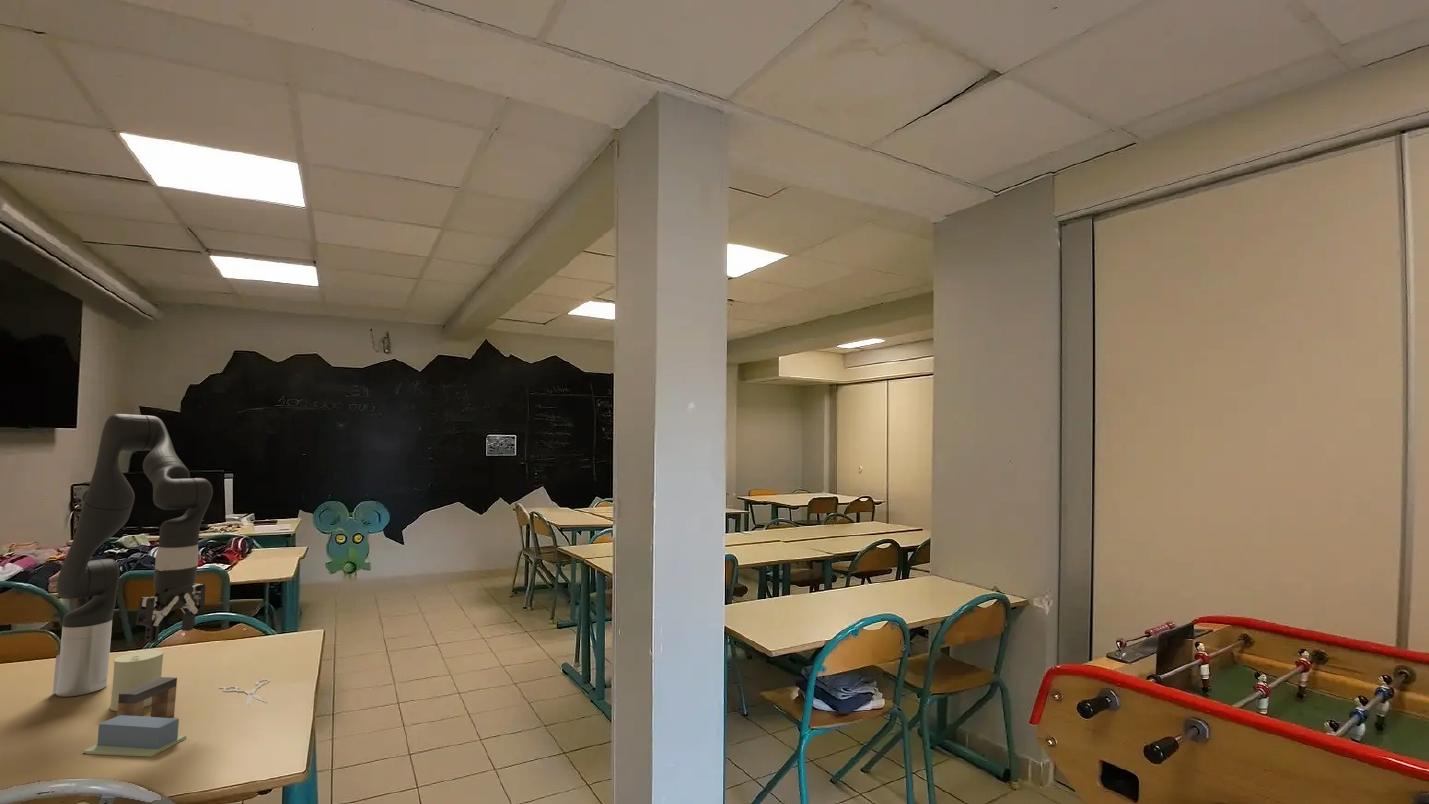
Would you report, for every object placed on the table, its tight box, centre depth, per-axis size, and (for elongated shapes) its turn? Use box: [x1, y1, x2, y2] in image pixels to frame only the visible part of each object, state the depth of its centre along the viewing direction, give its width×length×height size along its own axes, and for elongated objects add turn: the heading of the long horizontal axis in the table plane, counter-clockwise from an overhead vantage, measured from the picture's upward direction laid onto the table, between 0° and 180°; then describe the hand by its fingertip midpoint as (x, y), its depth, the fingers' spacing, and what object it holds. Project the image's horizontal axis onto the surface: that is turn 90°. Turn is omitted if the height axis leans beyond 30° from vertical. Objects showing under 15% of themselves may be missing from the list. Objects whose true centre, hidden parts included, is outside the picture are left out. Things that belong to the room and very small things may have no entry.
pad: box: [82, 734, 187, 758], centre depth 132 cm, size 15×8×1 cm, turn 87°
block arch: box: [116, 676, 178, 718], centre depth 142 cm, size 4×10×8 cm, turn 177°
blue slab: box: [96, 715, 180, 749], centre depth 132 cm, size 14×4×4 cm, turn 85°
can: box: [109, 649, 165, 712], centre depth 153 cm, size 9×9×12 cm
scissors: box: [218, 678, 271, 708], centre depth 159 cm, size 11×1×20 cm
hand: (169, 636), depth 141 cm, fingers open, 8 cm apart
